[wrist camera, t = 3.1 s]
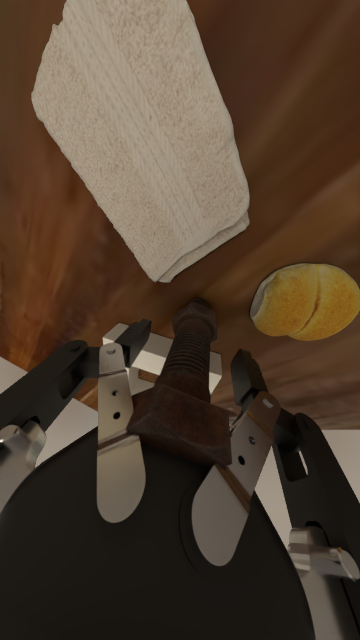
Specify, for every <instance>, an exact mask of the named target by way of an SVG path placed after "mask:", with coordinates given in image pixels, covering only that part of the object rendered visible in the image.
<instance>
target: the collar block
mask: <svg viewBox="0 0 360 640" xmlns="http://www.w3.org/2000/svg"><path fill="white" fill-rule="evenodd" d="M128 327H129V326H128V325H125V324H122V323H119V324H117V325H116V326H115V327H114V328H113V329H112V330H111V331H110V332H108V333H107V334H106V335H105V336H104V337H103V344H104V345H105V344H107V343H113V342H114V341H115V340H116V339H117V338H118V337H119V336H120V335H121V334H122V333H123V332H124V331H125V330H126V329H127V328H128ZM172 343H173V339H169V338H166V337H163V336H160V335H157V334H154V333H150V336H149V339H148V341H147V343H146V344H145V346H144V347H143V349H142V350H141V352H140V353H139V355H138V357H137V358H136V360H135V361H134V363H133V364H132V366H131V367H130V369H129V368H126V367H125V369H126V370H127V374H128V380H129V386H130V392H131V396H132V395H134V394H137V393H139V392H142V391H144V390H147V389H149V388H152V387H153V386H154V383H151V382H148V381H145V380H142V379H139V378H138V372H139V369H142V370H145V371H148V372H151V373H154V374H157V375H160V373H161V370H162V368H163V365H164V363H165V360H166V358H167V356H168V353H169V350H170V348H171V345H172ZM209 368H210V370H209V390H210V395H211V393H212V392H213V390H214V388H215V387H216V385H217V384H218V382H219V380H220V379H221V377H222V366H221V355H220V354H217V353H214V352H211V351H210V367H209Z"/></svg>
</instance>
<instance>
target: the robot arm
mask: <svg viewBox="0 0 360 640" xmlns="http://www.w3.org/2000/svg"><path fill="white" fill-rule="evenodd" d="M151 323H152V322H151V321H149V320H146V319H142V320H141V321H140V322H139V323H137V322H135V323H133V324H131V325H130V326H129V327H128V328H127V329H126V330H125V331H124V332H123V333H122V334H121V335H120V336H119V337H118V338H117V339H116V340H115V341H114V342H113V343H107V344H105V345H103V346H102V347H88V345H87V343H86V342H85V341H82V340H75V341H71V342H68V343H66V344H65V345H64V346H62V347H61V348H60V349H58V350H57V351H56V352H54V353H53V354H52V355H51V356H49V357H48V358H47V359H45V360H44V361H43V362H41V363H40V364H39V365H38V366H36V367H35V368H34V369H32V370H31V371H30V372H28V373H27V374H26V375H25V376H23V377H22V378H21V379H19V380H18V381H17V382H15V383H14V384H13V385H12V386H10V387H9V388H8V389H7V390H5V391H4V392H3V393H1V394H0V640H360V503H359V501H358V499H357V497H356V495H355V493H354V491H353V490H352V488H351V486H350V484H349V482H348V480H347V478H346V476H345V475H344V473H343V471H342V469H341V467H340V465H339V463H338V461H337V459H336V457H335V456H334V454H333V452H332V450H331V448H330V446H329V444H328V442H327V441H326V439H325V437H324V435H323V433H322V431H321V429H320V428H319V426H318V425H317V424H316V423H315V422H314V421H313V420H312V419H311V418H310V417H308V416H307V415H305V414H303V413H297V414H295V415H292V414H291V413H289V412H287V411H286V410H284V409H283V408H281V406H280V404H279V402H278V401H277V399H276V398H275V397H274V396H273V395H271V394H270V393H269V392H268V390H267V387H266V384H265V381H264V379H263V376H262V373H261V371H260V368H259V365H258V364H257V362H256V361H255V360H254V359H252V357H251V354H250V352H249V351H245V350H242V349H239V350H238V352H237V353H236V355H235V357H234V358H233V360H232V362H231V375H232V382H233V389H234V396H235V403H236V405H238V406H241V407H242V411H241V412H240V413H239V414H238V416H237V417H236V419H235V420H234V421H233V423H232V424H231V426H230V439H231V452H232V464H231V465H227V466H224V465H222V464H220V463H219V462H217V461H216V462H215V463H213V464H212V465H211V466H209V467H206V466H203V465H200V464H197V463H195V462H192V461H190V460H188V459H185V458H182V457H179V456H176V455H174V454H171V453H168V452H165V451H162V450H160V449H157V448H154V447H151V446H148V445H145V444H143V443H140V439H139V434H138V433H135V432H130V431H127V430H125V429H126V427H127V425H128V422H129V420H130V418H131V416H132V414H133V412H134V409H133V403H132V397H131V392H130V386H129V380H128V374H127V370H126V369H125V367H126V368H129V369H130V367H131V366H132V364H133V363H134V361H135V360H136V358H137V357H138V355H139V353H140V352H141V350H142V349H143V347H144V346H145V344H146V343H147V341H148V339H149V336H150V331H151ZM88 378H98V426H97V427H95V428H94V429H92V430H91V431H89V432H88V433H86V434H85V435H83V436H82V437H80V438H79V439H77V440H76V441H74V442H73V443H71V444H70V445H68V446H67V447H65V448H63V449H62V450H60V451H59V452H57V453H56V454H54V455H53V456H51V457H50V458H48V459H47V460H45V461H44V462H42V463H41V464H40V465H39V466H37V467H36V468H35V464H36V460H37V458H38V455H39V454H40V452H41V451H42V449H43V447H44V445H45V443H46V434H45V431H46V430H47V429H48V427H49V426H50V425H51V424H52V423H53V421H54V420H55V419H56V418H57V416H58V415H59V414H60V412H62V410H63V409H64V408H65V407H66V405H67V404H68V403H69V402H70V400H71V399H72V398H73V397H74V396H75V394H76V393H77V392H78V391H79V389H80V388H81V387H82V386H83V385H84V383H85V382H86V381H87V380H88ZM271 445H272V448H273V452H274V456H275V460H276V464H277V468H278V473H279V476H280V480H281V484H282V489H283V493H284V497H285V501H286V505H287V509H288V513H289V518H290V522H291V525H292V530H291V531H290V535H289V543H290V544H289V545H288V551H287V549H286V548H285V546H284V544H283V542H282V540H281V538H280V536H279V535H278V533H277V531H276V529H275V527H274V526H273V524H272V522H271V520H270V518H269V516H268V514H267V512H266V511H265V509H264V507H263V505H262V503H261V501H260V500H259V498H258V496H257V494H256V492H255V490H254V489H255V486H256V484H257V481H258V479H259V476H260V473H261V471H262V468H263V466H264V463H265V461H266V458H267V456H268V453H269V451H270V448H271ZM299 451H301V453H302V455H303V458H304V460H305V463H306V466H307V469H308V475H307V474H306V471H305V469H304V466H303V463H302V461H301V458H300V455H299Z"/></svg>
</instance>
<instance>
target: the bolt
mask: <svg viewBox="0 0 360 640" xmlns="http://www.w3.org/2000/svg"><path fill="white" fill-rule="evenodd" d="M172 324H173V331H174V334H175V337H174V340H173V343H172V345H171V348H170V350H169V353H168V356H167V358H166V360H165V363H164V365H163V368H162V370H161V373H160V375H159V377H158V378H157V380H156V381H155V384H154V386H153V387H152V388H149V389H147V390H144V391H142V392H139V393H137V394H134V395H132V396H131V397H132V403H133V409H134V412H133V414H132V416H131V418H130V420H129V422H128V425H127V427H126V429H125V430H127V431H130V432H135V433H138V434H139V439H140V443H143V444H145V445H148V446H151V447H154V448H157V449H160V450H162V451H165V452H168V453H171V454H174V455H176V456H179V457H182V458H185V459H188V460H190V461H192V462H195V463H197V464H200V465H203V466H206V467H209V466H211V465H212V464H213V463H215V462H216V461H217V462H219V463H220V464H222V465H224V466H227V465H231V464H232V452H231V439H230V427H229V415H228V411H227V410H225V409H222V408H220V407H217V406H215V405H212V404H210V390H209V370H210V368H209V367H210V343H212V342H213V341H214V340H216V339H217V328H216V314H215V311H213V310H211V308H210V306H209V305H208V303H207V302H205V301H203V300H201V299H198V298H195V299H192V301H190V302H189V303H188V305H187V306H186V307H184V308H183V309H181V310H180V311H179V312H177V313H176V314H175V315H174V317H173V319H172Z"/></svg>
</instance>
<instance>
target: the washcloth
mask: <svg viewBox="0 0 360 640" xmlns="http://www.w3.org/2000/svg"><path fill="white" fill-rule="evenodd" d="M36 77H37V78H36V83H35V86H34V90H33V92H32V94H31V95H32V103H33V106H34V110H35V111H36V115H37V117H38V119H39V120H40V121H43V123H44V125H45V127H46V129H47V130H48V132H49V134H50V135H51V137H52V138H53V139H54V141H55V142H56V143H57V144H58V146H59V147H60V148H61V151H62V153H63V154H64V155H65V157H66V158H67V159H68V160H69V161H70V162H71V163H72V167H73V169H74V170H75V171H76V172H77V173H78V174H79V176H80V178H81V179H82V180H83V181H84V183H85V185H86V187H87V188H88V189H89V190H90V192H91V193H92V194H93V196H94V198H95V200H96V201H97V204H98V206H100V207H101V208H102V209H103V211H104V213H106V215H107V217H108V218H109V220H110V221H111V223H113V225H114V228H115V229H116V230H117V231H118V232H119V234H120V235H121V236H122V237H123V239H124V241H125V242H126V245H128V247H129V248H130V249H131V251H132V252H133V253H134V254H135V257H136V259H137V260H138V262H139V263H140V266H142V268H143V270H144V271H145V272H146V273H147V275H148V276H149V278H151V279H152V281H154V282H157V281H160V282H166V283H167V282H171V280H172V279H173V278H174V276H175V275H177V274H178V273H180V272H181V271H182V270H184V269H185V268H187V267H188V266H190V265H192V264H193V263H195V262H196V261H198V260H199V259H201V258H202V257H204V256H205V255H207V254H208V253H210V252H211V251H213V250H214V249H216V248H217V247H219V246H220V245H222V244H223V243H224V242H226V241H228V240H229V239H231V238H232V237H234V236H236V235H237V234H238V233H240V232H241V231H244V230H245V229H246V227H247V226H248V225H249V223H250V222H249V219H248V211H247V209H248V207H249V199H250V197H249V188H248V183H247V180H246V177H245V174H244V172H243V169H242V166H241V163H240V158H239V153H238V150H237V147H236V143H235V138H234V130H233V124H232V121H231V117H230V115H229V113H228V111H227V108H226V106H225V104H224V102H223V99H222V96H221V94H220V91H219V89H218V86H217V83H216V81H215V79H214V76H213V74H212V71H211V68H210V65H209V62H208V59H207V57H206V54H205V51H204V48H203V45H202V42H201V39H200V36H199V32H198V30H197V28H196V25H195V20H194V16H193V14H192V13H191V10H190V8H189V5H188V3H187V1H186V0H67V2H66V3H65V5H64V10H63V21H62V22H61V23H60V25H59V26H58V25H55V24H53V27H52V32H51V35H50V40H49V42H48V43H47V44H46V48H45V50H44V52H43V55H42V62H41V65H40V67H39V72H38V73H37V76H36Z"/></svg>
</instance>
